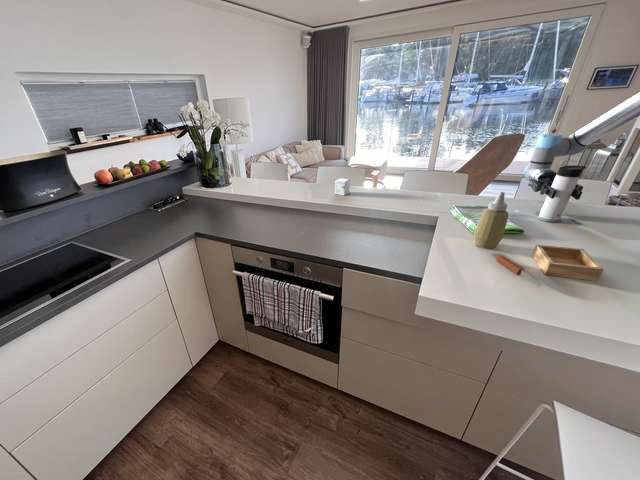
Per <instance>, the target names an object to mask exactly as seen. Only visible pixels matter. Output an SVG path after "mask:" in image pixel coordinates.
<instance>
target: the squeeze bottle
mask: <svg viewBox="0 0 640 480" xmlns="http://www.w3.org/2000/svg"><path fill="white" fill-rule="evenodd" d="M505 195H506V192H505V191H499V193H498V195H497V196H496V197H495V199H494V201H490V202H489V203H488V205H487V206H488V208H487V209H485V210H484V211H483V213H482V215H481V218H480V220H479V222H478V225H477V227H476V229H475V232H474V233H473V238H474V244H475V246H477V247H478V248H481V249H482V248H483V249H490V250H491V249H495V248H496V247H497V246H498V245H499V243H500V242H502V240H503V239H504V236H505V233H504V232H505V227H506V223H507V219H509V212H508V211H507V209H508V204H507V203H505Z"/></svg>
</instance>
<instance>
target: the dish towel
mask: <svg viewBox="0 0 640 480" xmlns="http://www.w3.org/2000/svg"><path fill="white" fill-rule="evenodd" d="M488 206H489V205H458V204H453V206H452V207H451V208H450V210H449V211H450V213H451V214H452V215H453V216H454V217H455V218H456V219H457V220H458V221H459V222H461V223H462V224H463V225H464V226H465V227H466V228H467V229H468V230H469V231H470V232H471V233H473V234H474V232H475V229H476V227H477V225H478V222H479V220H480V218H481V215H482V213H483V211H484V210H485V209H487V208H488ZM524 233H525V230H524V228H522V227H520V226H518V225H517V224H516V223H515V222H513V221H511V220H510V219H509V218H507V223H506V227H505V232H504V234H519V235H520V234H521V235H522V234H524Z"/></svg>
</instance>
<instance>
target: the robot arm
mask: <svg viewBox="0 0 640 480" xmlns="http://www.w3.org/2000/svg"><path fill="white" fill-rule="evenodd" d="M638 118H640V91H638V92H637V93H635V94H633V95H632V96H631V97H629V98H627V99H625V100H624V101H622V102H620V103H619V104H618V105H616V106H615V107H612V108H611V109H610V110H608V111H607V112H605V113H602V115H600V116H598V117H597V118H595V119H594V120H592V121H591V122H589V123H588V124H586V125H584V126H582V127H581V128H579V129H577V130H576V131H574V132H573V133H571V134H569V135H568V136H565V137H564V136H563V135H562V134H559V133H544V134H541V135H540V136H539V137H538V139H537V142H536V144H535V147H534V150H533V152H532V155H531V158H530V161H529V163H528V165H526V166H525V167H524V169H523V172H522V173H523V176H524V179H526V180H527V181H528V184H527V186H528V187H530V188H531V189H532V190H533V192H534V193H538V192H539V195H541V196H543V195H546V197H547V196H549V197H550V198H551V199H554V197H555V194H556V192H557V191H556V190H555V189H553V188H552V187H551V186H552V184H553V181H554V179H555V177H556V174H557V173H558V172H556V171H554V169H551V168H552V165H553V163H554V161H555V158H558V157H566V156H574V155H578V154H580V153H583V152H584V151H585V150H587V148H588V146H590V145H592V144H593V143H595V142H598V141H599V140H600V139H602V138H605V137H606V136H608V135H610V134H611V133H613V132H615V131H616V130H618V129H620V128H622V127H625V125H627V124H630V122H632V121H634V120H636V119H638ZM583 189H584V186H583V185H581V184H579V183H577V184H576V186H575V188H574V191H573V193H572V195H571V197H572V198H573V199H575V200H576V201H579V200H580V199H581V196H582V194H583Z"/></svg>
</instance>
